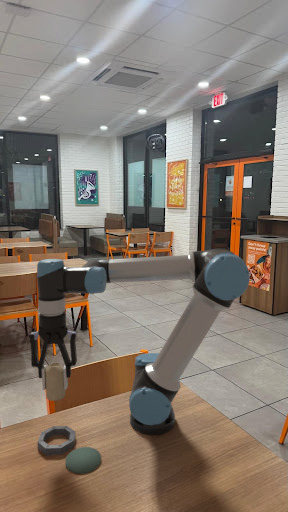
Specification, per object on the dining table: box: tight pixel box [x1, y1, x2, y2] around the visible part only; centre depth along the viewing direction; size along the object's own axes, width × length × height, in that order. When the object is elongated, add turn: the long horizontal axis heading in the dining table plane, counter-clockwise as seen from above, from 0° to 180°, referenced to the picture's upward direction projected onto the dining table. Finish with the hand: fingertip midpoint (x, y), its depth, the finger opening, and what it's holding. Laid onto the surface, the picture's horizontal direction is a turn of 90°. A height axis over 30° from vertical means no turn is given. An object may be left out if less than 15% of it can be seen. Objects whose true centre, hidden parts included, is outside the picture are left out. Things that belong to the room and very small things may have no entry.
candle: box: [45, 362, 66, 402], centre depth 107 cm, size 6×6×10 cm
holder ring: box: [37, 425, 77, 456], centre depth 109 cm, size 11×11×2 cm
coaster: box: [65, 446, 102, 475], centre depth 102 cm, size 10×10×1 cm
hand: (55, 387), depth 107 cm, fingers closed on candle, 5 cm apart
